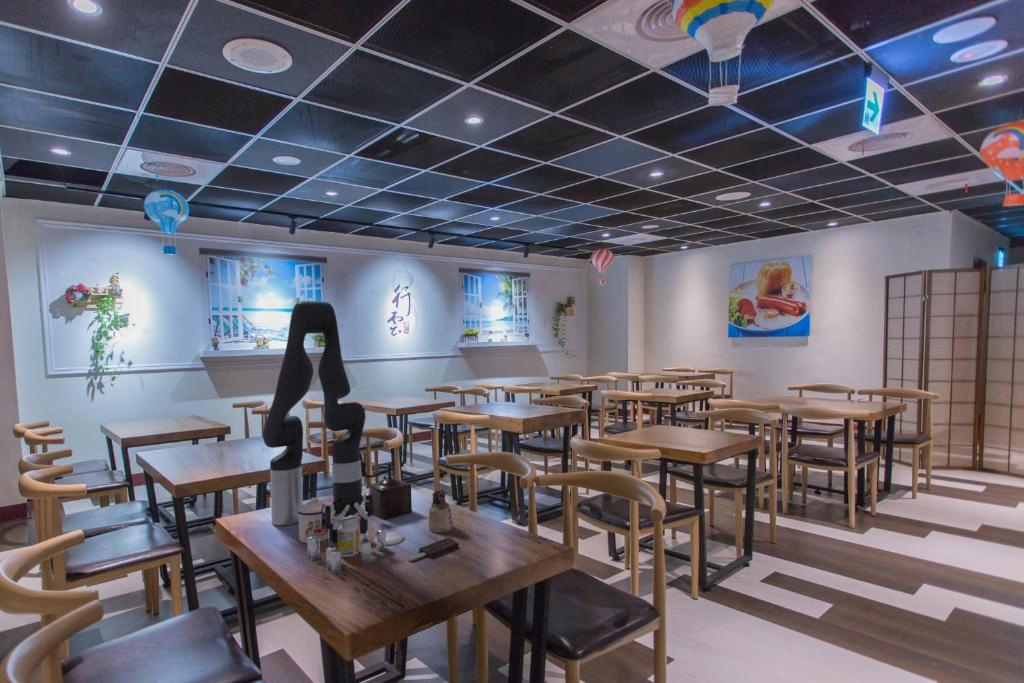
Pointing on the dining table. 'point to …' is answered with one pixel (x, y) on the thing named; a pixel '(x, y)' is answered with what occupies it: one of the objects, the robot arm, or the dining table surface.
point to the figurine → (440, 513)
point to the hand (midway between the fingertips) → (349, 537)
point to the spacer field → (335, 555)
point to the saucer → (392, 538)
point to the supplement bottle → (348, 537)
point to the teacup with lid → (312, 520)
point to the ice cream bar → (436, 549)
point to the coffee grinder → (389, 495)
